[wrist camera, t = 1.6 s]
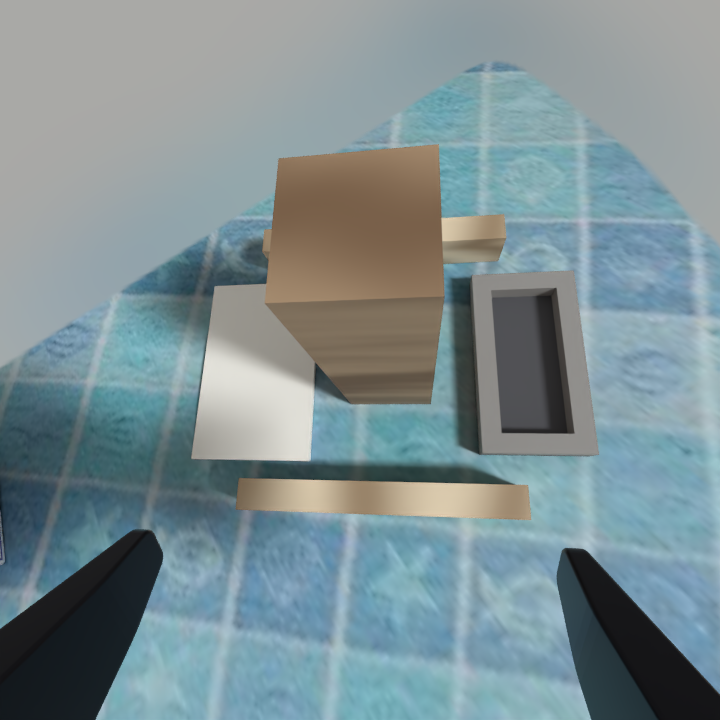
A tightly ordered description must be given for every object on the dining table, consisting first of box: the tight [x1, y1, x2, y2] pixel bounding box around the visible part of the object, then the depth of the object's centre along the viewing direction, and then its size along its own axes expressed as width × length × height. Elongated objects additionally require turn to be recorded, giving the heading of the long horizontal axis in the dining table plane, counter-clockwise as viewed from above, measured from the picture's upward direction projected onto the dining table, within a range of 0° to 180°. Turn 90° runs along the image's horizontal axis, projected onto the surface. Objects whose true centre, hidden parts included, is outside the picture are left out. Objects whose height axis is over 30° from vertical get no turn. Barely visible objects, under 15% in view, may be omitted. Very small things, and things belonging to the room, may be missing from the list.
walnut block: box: [265, 144, 444, 404], centre depth 17 cm, size 4×4×14 cm
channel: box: [236, 214, 531, 520], centre depth 23 cm, size 14×16×2 cm
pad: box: [191, 284, 316, 461], centre depth 25 cm, size 7×11×1 cm, turn 179°
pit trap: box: [470, 271, 599, 456], centre depth 22 cm, size 6×10×1 cm, turn 179°
